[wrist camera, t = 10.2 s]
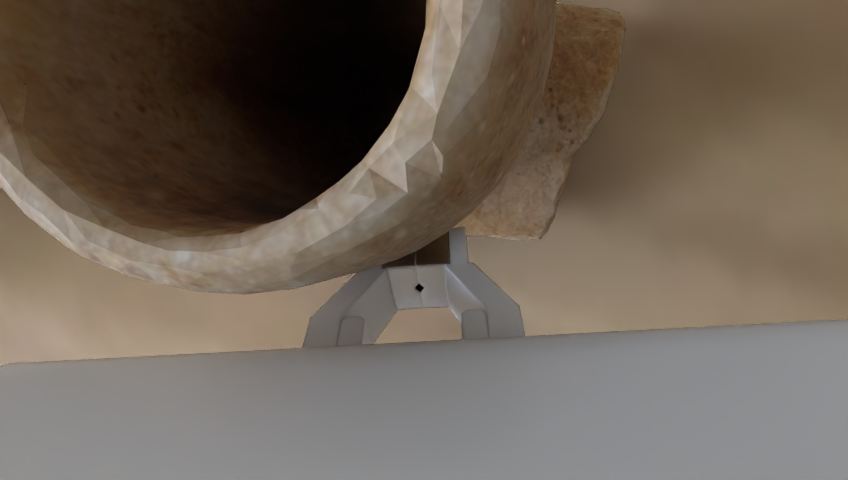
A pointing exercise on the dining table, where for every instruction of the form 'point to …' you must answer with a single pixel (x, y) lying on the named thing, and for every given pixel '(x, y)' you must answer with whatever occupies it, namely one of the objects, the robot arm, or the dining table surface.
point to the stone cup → (293, 128)
